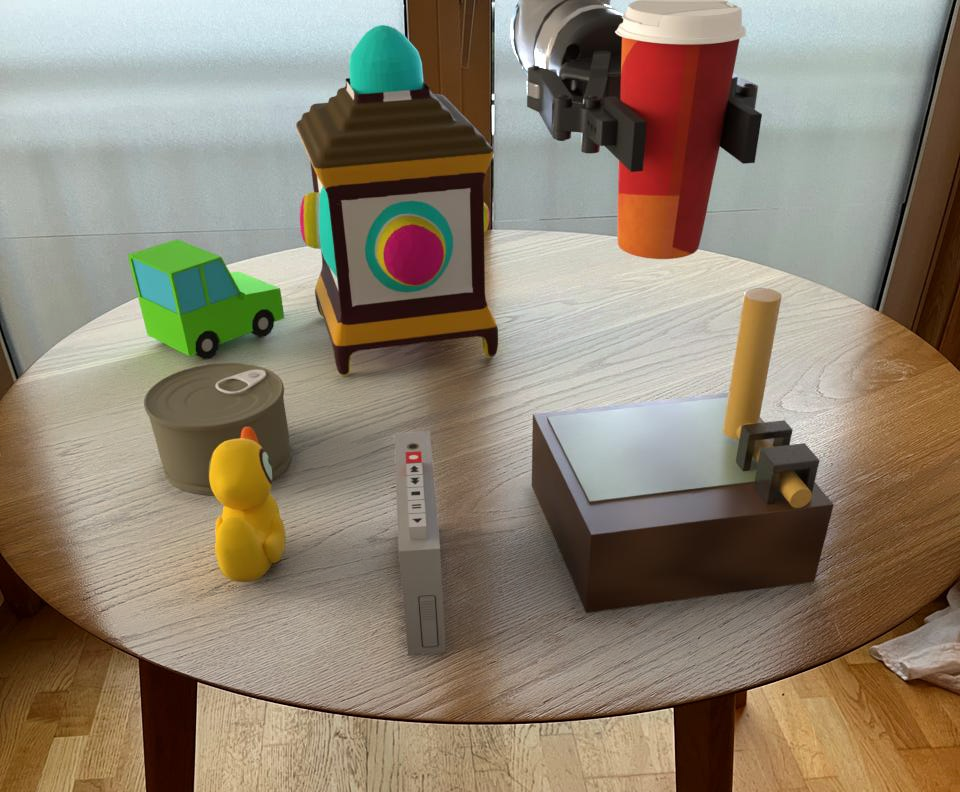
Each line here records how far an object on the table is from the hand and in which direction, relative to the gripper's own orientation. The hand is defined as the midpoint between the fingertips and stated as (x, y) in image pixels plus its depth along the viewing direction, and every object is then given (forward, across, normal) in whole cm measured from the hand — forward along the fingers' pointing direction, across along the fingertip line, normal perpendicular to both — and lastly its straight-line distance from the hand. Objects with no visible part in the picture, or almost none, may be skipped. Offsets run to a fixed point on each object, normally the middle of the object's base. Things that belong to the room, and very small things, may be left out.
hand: (695, 143), depth 59 cm
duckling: (-5, +31, -30) cm, 44 cm away
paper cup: (-5, 0, -8) cm, 9 cm away
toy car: (-50, +34, -30) cm, 68 cm away
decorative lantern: (-45, +14, -30) cm, 56 cm away
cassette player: (+1, +18, -30) cm, 35 cm away
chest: (-3, -2, -30) cm, 30 cm away
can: (-21, +33, -30) cm, 50 cm away
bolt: (+1, -8, -23) cm, 24 cm away
